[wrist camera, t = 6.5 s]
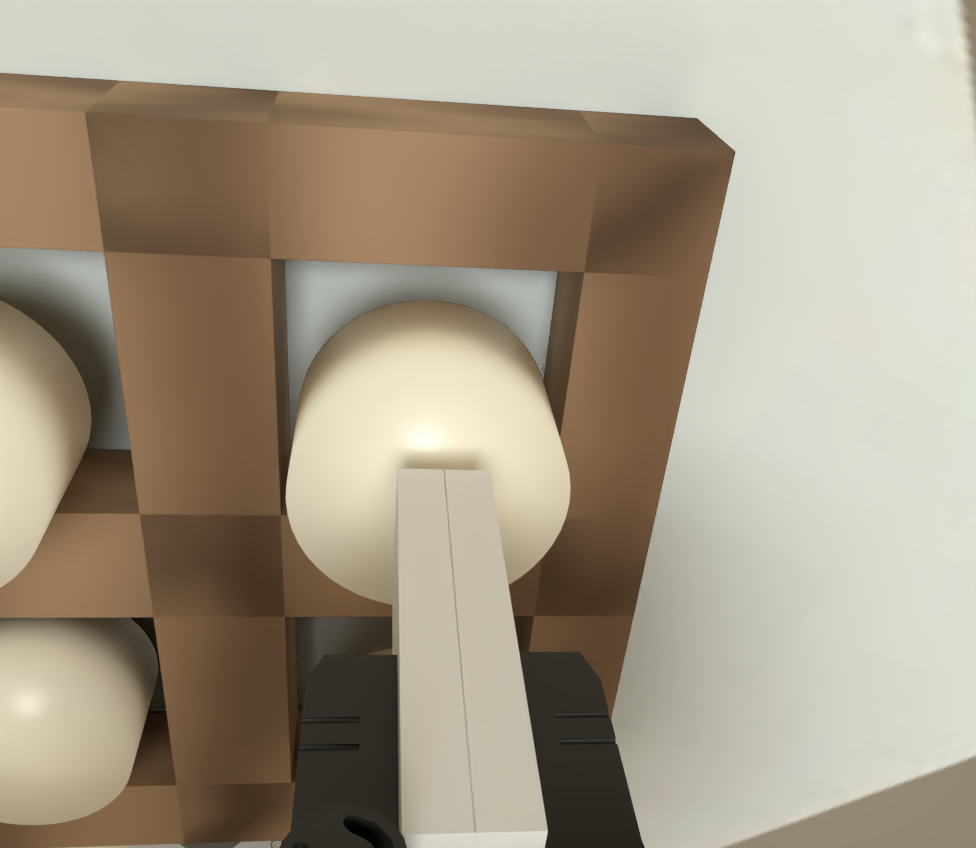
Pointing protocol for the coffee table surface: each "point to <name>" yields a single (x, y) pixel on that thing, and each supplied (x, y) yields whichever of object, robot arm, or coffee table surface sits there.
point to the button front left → (35, 434)
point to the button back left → (70, 714)
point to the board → (264, 379)
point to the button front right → (420, 437)
